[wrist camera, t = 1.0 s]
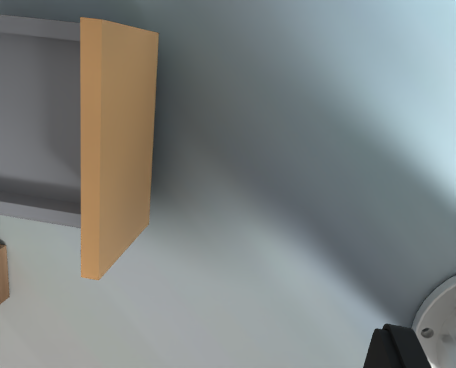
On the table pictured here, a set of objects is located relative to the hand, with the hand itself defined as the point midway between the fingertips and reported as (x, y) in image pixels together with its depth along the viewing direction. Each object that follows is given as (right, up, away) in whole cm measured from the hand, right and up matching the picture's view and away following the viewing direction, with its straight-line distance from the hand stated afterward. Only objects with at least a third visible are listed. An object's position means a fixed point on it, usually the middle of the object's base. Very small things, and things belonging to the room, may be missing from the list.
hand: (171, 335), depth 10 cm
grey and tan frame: (-11, +9, +20) cm, 24 cm away
